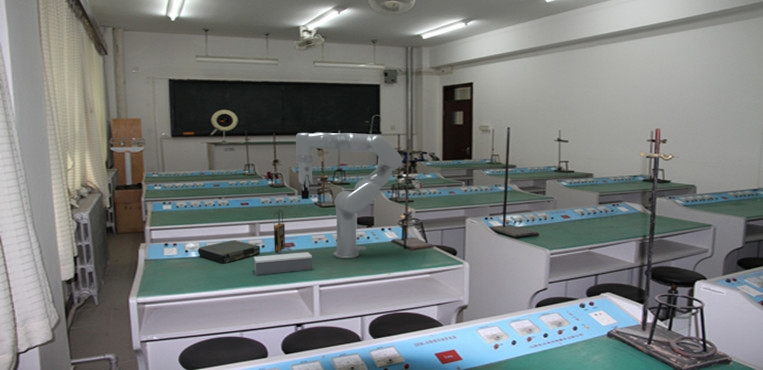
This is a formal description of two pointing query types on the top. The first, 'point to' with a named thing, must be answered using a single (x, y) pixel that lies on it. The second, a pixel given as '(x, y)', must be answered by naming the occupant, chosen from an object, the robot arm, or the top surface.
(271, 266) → the block
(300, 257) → the panel
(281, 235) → the multimeter
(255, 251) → the network switch
